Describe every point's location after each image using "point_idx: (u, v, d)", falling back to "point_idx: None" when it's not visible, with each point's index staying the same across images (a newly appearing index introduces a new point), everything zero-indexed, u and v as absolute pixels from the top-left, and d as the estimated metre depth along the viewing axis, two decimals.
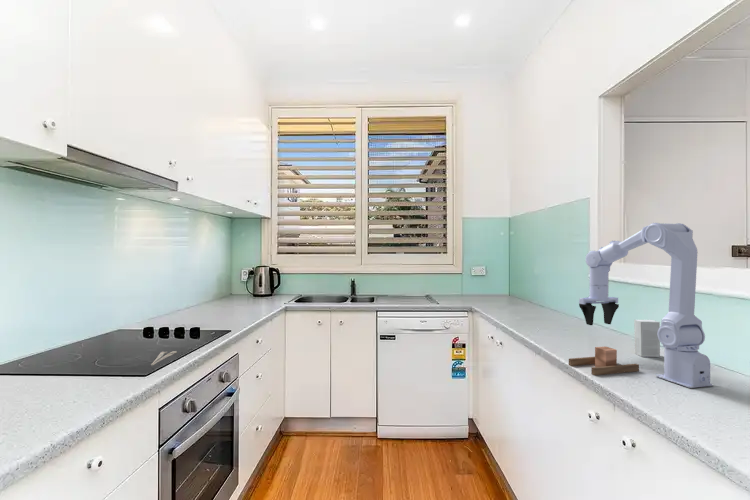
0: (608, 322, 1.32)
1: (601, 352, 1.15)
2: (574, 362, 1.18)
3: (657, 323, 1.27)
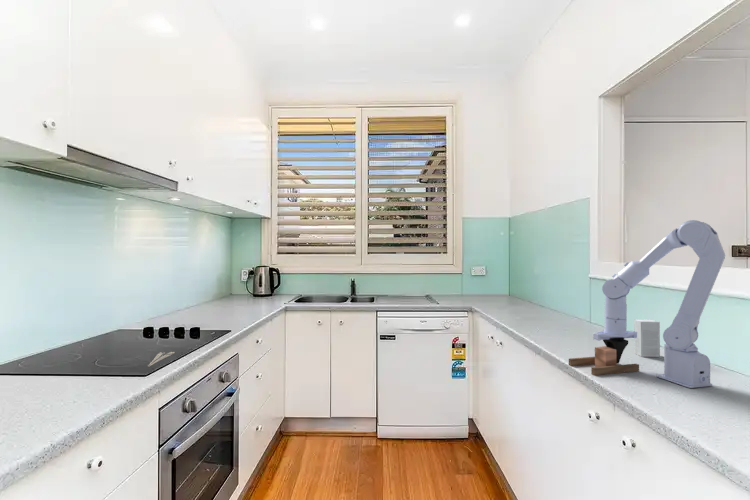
0: None
1: (601, 352, 1.15)
2: (574, 362, 1.18)
3: (657, 323, 1.27)
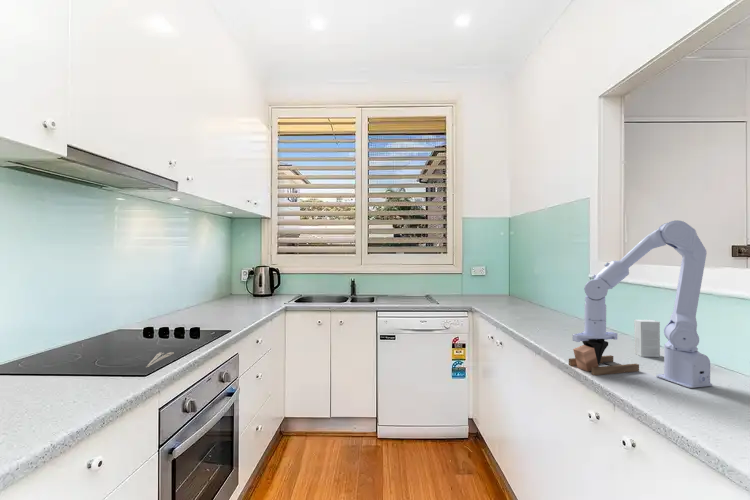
0: None
1: (580, 354, 1.13)
2: (574, 362, 1.18)
3: (657, 323, 1.27)
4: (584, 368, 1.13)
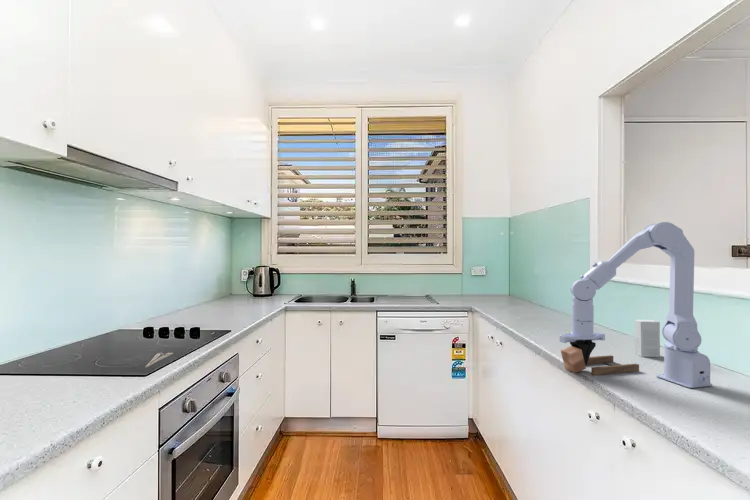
0: None
1: (567, 355, 1.12)
2: None
3: (657, 323, 1.27)
4: (571, 369, 1.12)
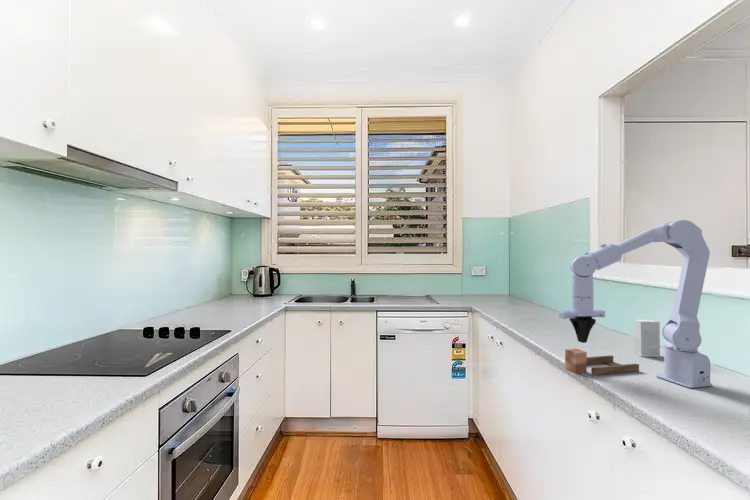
0: None
1: (571, 354, 1.12)
2: None
3: (657, 323, 1.27)
4: (572, 369, 1.12)
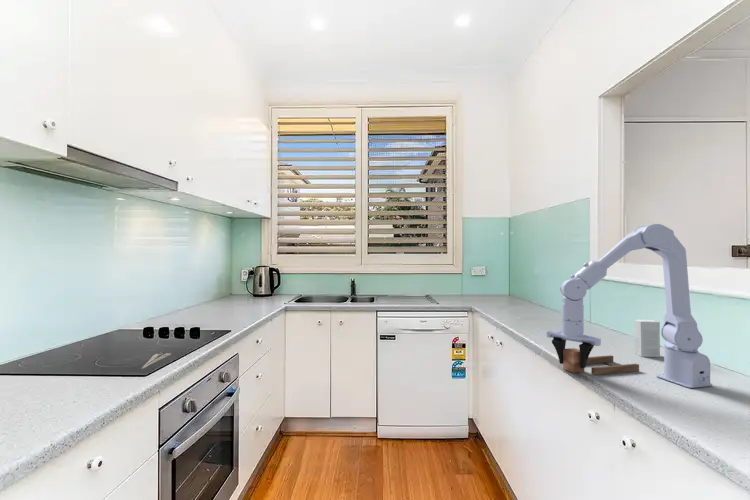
0: None
1: (569, 353, 1.12)
2: None
3: (657, 323, 1.27)
4: (570, 369, 1.12)
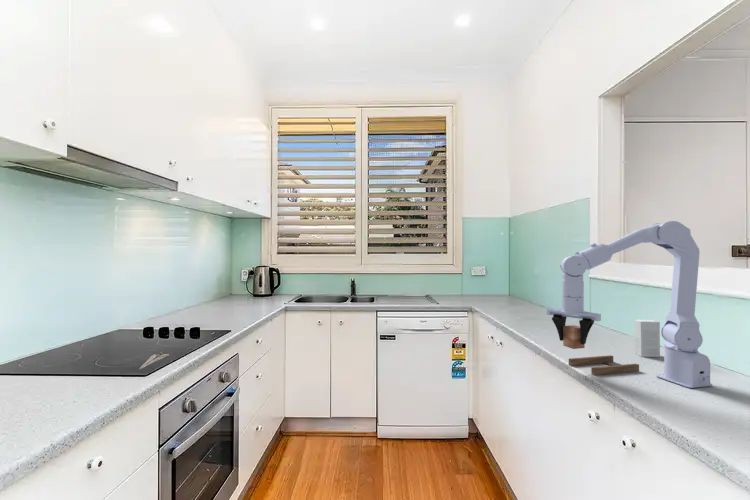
0: None
1: (569, 330, 1.12)
2: (574, 362, 1.18)
3: (657, 323, 1.27)
4: (570, 345, 1.12)
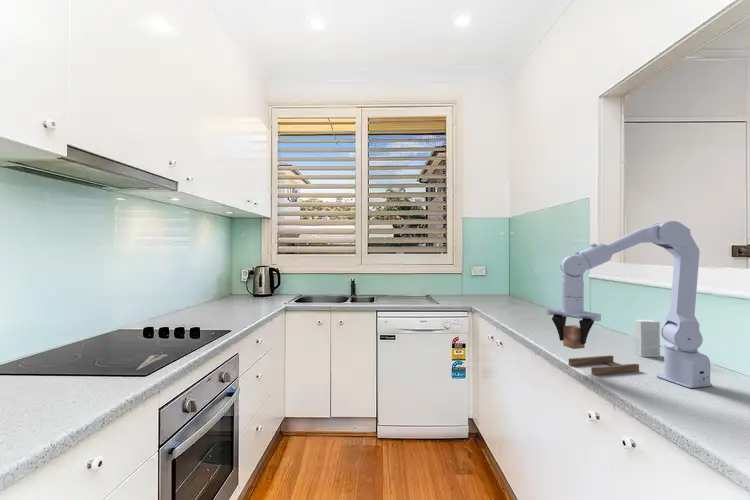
0: None
1: (569, 330, 1.12)
2: (574, 362, 1.18)
3: (657, 323, 1.27)
4: (570, 345, 1.12)
